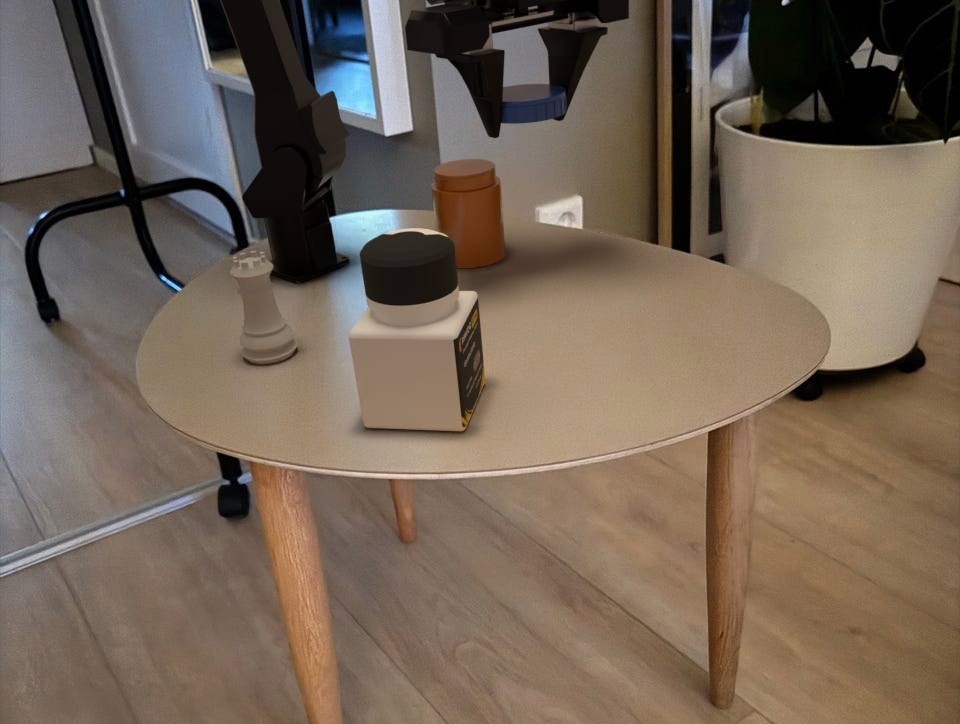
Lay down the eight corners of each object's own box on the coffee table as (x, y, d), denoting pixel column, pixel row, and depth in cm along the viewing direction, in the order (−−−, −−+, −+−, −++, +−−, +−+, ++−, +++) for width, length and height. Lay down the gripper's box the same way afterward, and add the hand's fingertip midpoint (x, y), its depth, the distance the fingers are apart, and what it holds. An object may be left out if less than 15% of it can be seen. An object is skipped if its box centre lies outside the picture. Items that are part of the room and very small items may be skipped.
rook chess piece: (282, 367, 71) (261, 268, 66) (232, 364, 72) (207, 266, 68) (308, 343, 74) (289, 247, 70) (259, 339, 76) (237, 245, 71)
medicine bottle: (465, 433, 60) (447, 258, 54) (362, 429, 62) (333, 258, 55) (486, 382, 66) (472, 218, 59) (392, 380, 68) (368, 219, 61)
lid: (573, 118, 74) (573, 96, 73) (489, 127, 74) (488, 105, 73) (558, 101, 80) (558, 80, 79) (480, 109, 80) (478, 88, 79)
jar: (425, 259, 88) (415, 171, 84) (471, 240, 92) (464, 154, 87) (472, 273, 84) (464, 181, 80) (519, 252, 88) (513, 162, 83)
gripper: (543, -96, 79) (550, 96, 87) (355, -73, 70) (383, 137, 79) (635, -101, 71) (632, 111, 80) (436, -76, 62) (457, 159, 71)
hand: (526, 128), depth 77 cm, fingers closed on lid, 7 cm apart
